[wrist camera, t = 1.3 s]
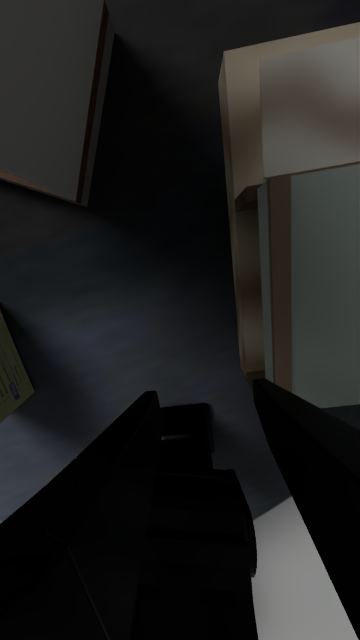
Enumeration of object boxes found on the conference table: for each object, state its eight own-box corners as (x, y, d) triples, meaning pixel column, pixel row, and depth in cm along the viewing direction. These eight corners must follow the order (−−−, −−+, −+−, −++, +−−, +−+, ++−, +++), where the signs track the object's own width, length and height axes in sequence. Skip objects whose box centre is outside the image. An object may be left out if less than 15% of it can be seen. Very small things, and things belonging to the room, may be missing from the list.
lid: (400, 384, 16) (429, 401, 14) (266, 399, 16) (276, 417, 14) (436, 158, 12) (483, 140, 10) (257, 189, 12) (269, 177, 10)
